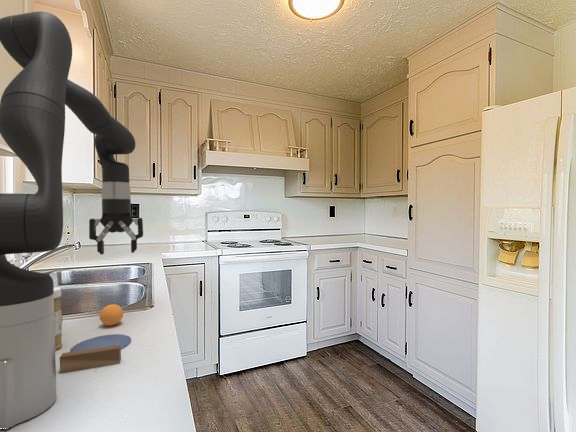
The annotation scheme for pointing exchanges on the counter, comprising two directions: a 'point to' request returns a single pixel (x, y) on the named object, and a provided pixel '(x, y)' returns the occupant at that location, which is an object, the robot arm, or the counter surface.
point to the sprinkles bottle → (57, 317)
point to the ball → (111, 314)
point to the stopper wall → (90, 358)
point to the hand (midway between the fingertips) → (117, 253)
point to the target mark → (103, 342)
